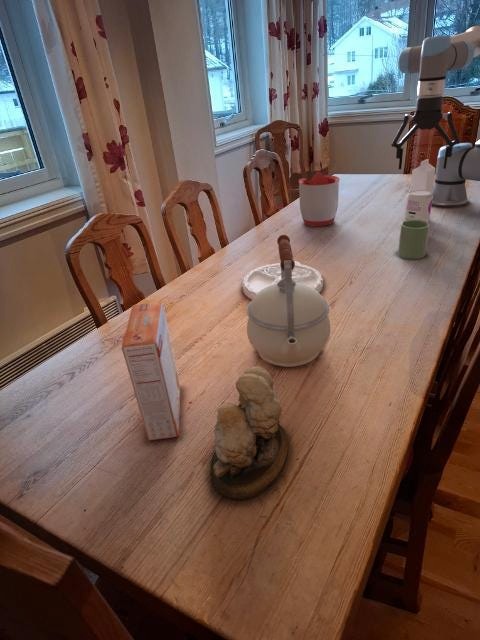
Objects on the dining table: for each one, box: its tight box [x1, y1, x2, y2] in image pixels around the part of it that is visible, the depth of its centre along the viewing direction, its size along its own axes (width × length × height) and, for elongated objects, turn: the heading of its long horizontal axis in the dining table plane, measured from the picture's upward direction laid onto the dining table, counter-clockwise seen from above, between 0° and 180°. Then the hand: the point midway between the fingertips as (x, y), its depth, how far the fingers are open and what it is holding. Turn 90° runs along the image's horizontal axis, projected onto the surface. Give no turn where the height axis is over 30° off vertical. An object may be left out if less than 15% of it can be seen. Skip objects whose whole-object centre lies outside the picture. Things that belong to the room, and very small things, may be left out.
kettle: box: [246, 234, 331, 368], centre depth 90 cm, size 25×18×25 cm
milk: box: [409, 158, 436, 195], centre depth 161 cm, size 6×6×22 cm
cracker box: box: [121, 301, 182, 442], centre depth 77 cm, size 14×6×21 cm, turn 5°
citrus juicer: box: [298, 171, 340, 228], centre depth 169 cm, size 16×17×20 cm
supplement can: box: [403, 190, 433, 224], centre depth 148 cm, size 8×8×15 cm
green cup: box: [397, 220, 430, 260], centre depth 136 cm, size 8×8×10 cm
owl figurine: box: [209, 365, 289, 501], centre depth 67 cm, size 18×12×17 cm, turn 157°
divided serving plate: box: [242, 260, 324, 301], centre depth 127 cm, size 24×27×2 cm
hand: (421, 168), depth 142 cm, fingers open, 13 cm apart
